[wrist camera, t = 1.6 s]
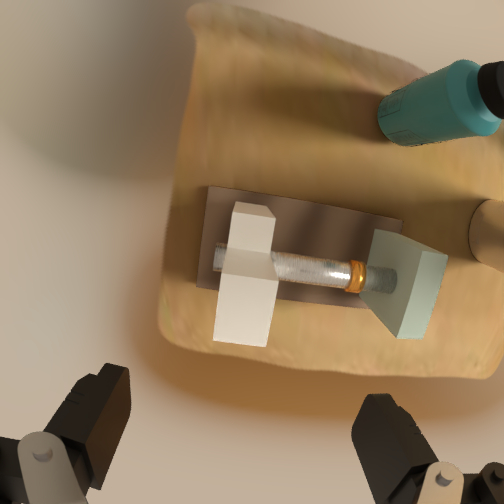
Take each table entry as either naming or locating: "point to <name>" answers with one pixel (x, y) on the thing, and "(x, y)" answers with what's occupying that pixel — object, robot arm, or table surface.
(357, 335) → the table surface
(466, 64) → the beverage bottle
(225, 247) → the steel pipe
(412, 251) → the mount block
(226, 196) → the pipe board
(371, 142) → the table surface
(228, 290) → the white stepped block
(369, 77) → the table surface
